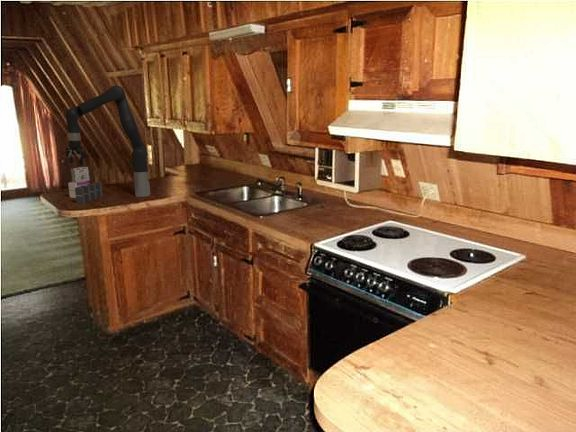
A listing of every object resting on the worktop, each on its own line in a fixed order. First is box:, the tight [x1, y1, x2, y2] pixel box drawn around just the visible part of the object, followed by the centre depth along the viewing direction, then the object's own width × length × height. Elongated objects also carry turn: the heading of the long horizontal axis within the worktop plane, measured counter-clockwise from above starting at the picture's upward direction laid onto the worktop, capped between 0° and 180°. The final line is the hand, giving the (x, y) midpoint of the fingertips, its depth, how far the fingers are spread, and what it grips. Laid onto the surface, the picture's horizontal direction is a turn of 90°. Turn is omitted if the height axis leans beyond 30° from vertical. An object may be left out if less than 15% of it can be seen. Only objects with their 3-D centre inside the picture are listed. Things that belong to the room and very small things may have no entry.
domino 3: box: [87, 183, 98, 200], centre depth 306 cm, size 2×5×10 cm, turn 75°
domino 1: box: [75, 187, 86, 205], centre depth 295 cm, size 2×5×10 cm, turn 75°
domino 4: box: [92, 181, 104, 198], centre depth 311 cm, size 2×5×10 cm, turn 75°
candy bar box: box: [70, 166, 91, 188], centre depth 329 cm, size 11×5×16 cm, turn 143°
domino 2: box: [81, 185, 92, 202], centre depth 300 cm, size 2×5×10 cm, turn 75°
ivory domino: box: [67, 181, 77, 199], centre depth 309 cm, size 2×5×10 cm, turn 75°
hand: (76, 163), depth 305 cm, fingers open, 8 cm apart
